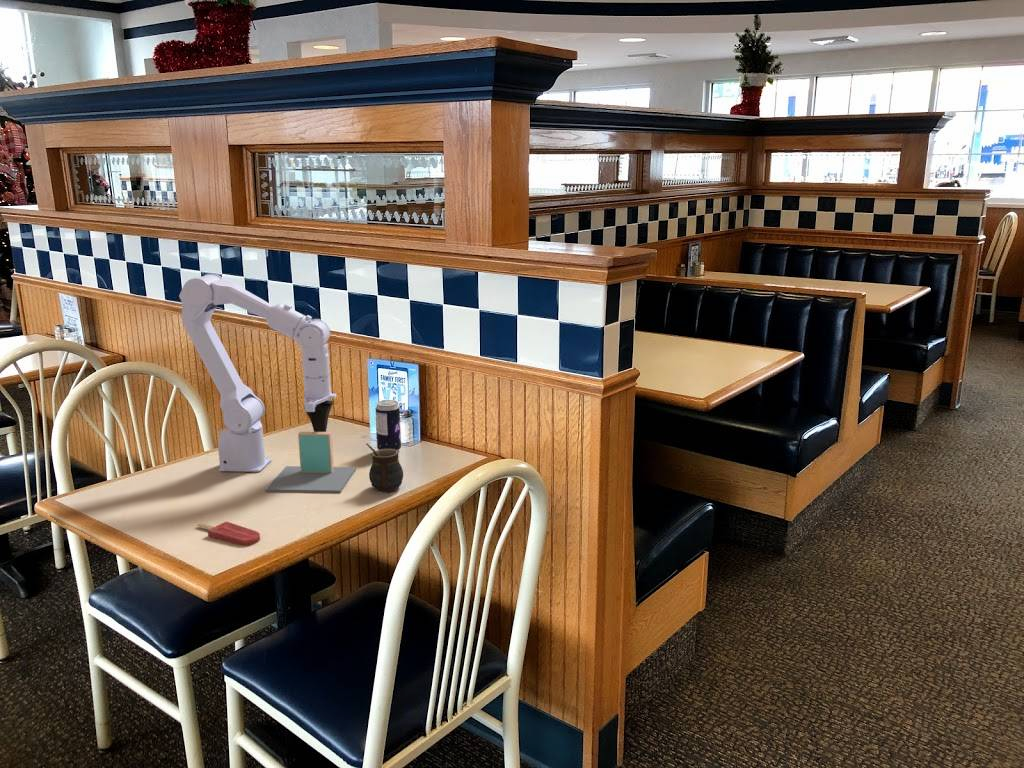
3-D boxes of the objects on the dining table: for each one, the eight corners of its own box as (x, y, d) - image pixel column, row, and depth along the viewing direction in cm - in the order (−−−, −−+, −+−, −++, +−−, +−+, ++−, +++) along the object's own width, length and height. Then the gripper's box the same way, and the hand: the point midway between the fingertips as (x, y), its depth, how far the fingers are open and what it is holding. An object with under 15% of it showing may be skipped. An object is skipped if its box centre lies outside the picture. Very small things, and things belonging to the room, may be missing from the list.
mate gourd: (403, 494, 170) (400, 448, 168) (366, 495, 170) (363, 450, 167) (405, 481, 177) (403, 437, 175) (370, 482, 177) (367, 438, 174)
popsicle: (207, 515, 157) (265, 532, 150) (208, 523, 157) (266, 540, 150) (188, 524, 153) (246, 541, 146) (188, 532, 153) (247, 550, 146)
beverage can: (399, 454, 194) (397, 406, 191) (375, 454, 194) (373, 406, 191) (402, 447, 200) (401, 399, 197) (379, 447, 200) (377, 399, 197)
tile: (300, 472, 181) (297, 434, 179) (303, 469, 183) (300, 431, 181) (331, 473, 181) (329, 434, 179) (333, 470, 183) (331, 432, 180)
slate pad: (265, 491, 172) (265, 489, 172) (286, 468, 186) (286, 466, 185) (340, 492, 171) (340, 490, 171) (356, 469, 185) (356, 467, 185)
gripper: (325, 383, 174) (329, 444, 177) (342, 367, 188) (345, 424, 191) (293, 383, 174) (297, 444, 177) (312, 367, 188) (316, 424, 191)
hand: (320, 434), depth 184 cm, fingers closed
